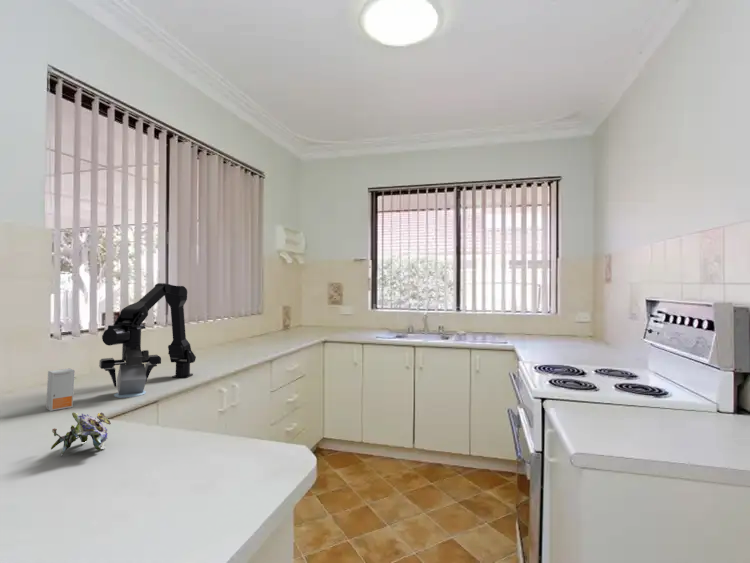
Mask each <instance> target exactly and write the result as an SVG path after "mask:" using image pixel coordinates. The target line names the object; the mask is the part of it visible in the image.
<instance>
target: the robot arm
mask: <svg viewBox="0 0 750 563" xmlns="http://www.w3.org/2000/svg"><path fill="white" fill-rule="evenodd" d="M163 297H164V298H165V301H166V303H167V305H168V306H169V308H170V318H171V320H170V321H171V331H172V341H171V343H170V344H168V346H167V348H168V353H167V354H168V355H169V360H170V363H175V374H174V375H172V376H171V378H176V377H179V378H182V379H183V378H189V377H192V376H193V375H194V373H191V364H192V363H195V362H196V360H197V359H196V354H194V352H193V351H192V347H191V343H190V342H189V341H188V340H187V336H186V322H185V307H184V305H185V303H186V302H187V301H188V289H187V288H186V287H185V285H173V284H169V283H167V282H165V283H164V282H163V283H162V282H159V283H156V284H155V285H154V287H153V288H152V289H150V290H149V291H148V292H147V293H146V294H145V295H143V296H142V298H140V299H139V300H137V302H134V303H131V304H128V305H127V306H126V307H123V308H122V309H121V310H120V312H119V315H118V316H117V318H116V320H115V321H114V323H113V325H112V324H111V325H109V324H108V326H107V329H106V330H104V331H103V333H102V335H101V339H102V342H103V343H104V344H105V345H106V346H110V347H111V346H116V345H122V348H121V359H114V358H113V357H106V358H105V357H104V358H101V359H100V360H99V363H98V364H99V365H98V368H100V369H101V370H104V371H105V372H106V371H107V372H108V373H109V375H110V377H111V380H112V384H113V386H114V388H116V387H117V374H116V368H115V366H120V365H124V364H126V365H127V366H132V365H141V364H144V365H145V372H146V383H147V381H148V378H149V376H150V374H151V372H152V370H153V369H154V367H158V365H160V364H162V358H161V357H162V356H160V355H158V354H149V350H148V349H145V350H143V349H142V348H141V347H142V330H143V329H145V330H146V326H145V325H144V324H143V322H144V321H145V320H146V319H147V317H148V315H149V312H150V309H151V308H153V307H154V306H155V305H156V304H157V303H158V302H159V301H160V300H161V299H162V298H163ZM179 378H178V379H179ZM146 383H145V385H146Z"/></svg>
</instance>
